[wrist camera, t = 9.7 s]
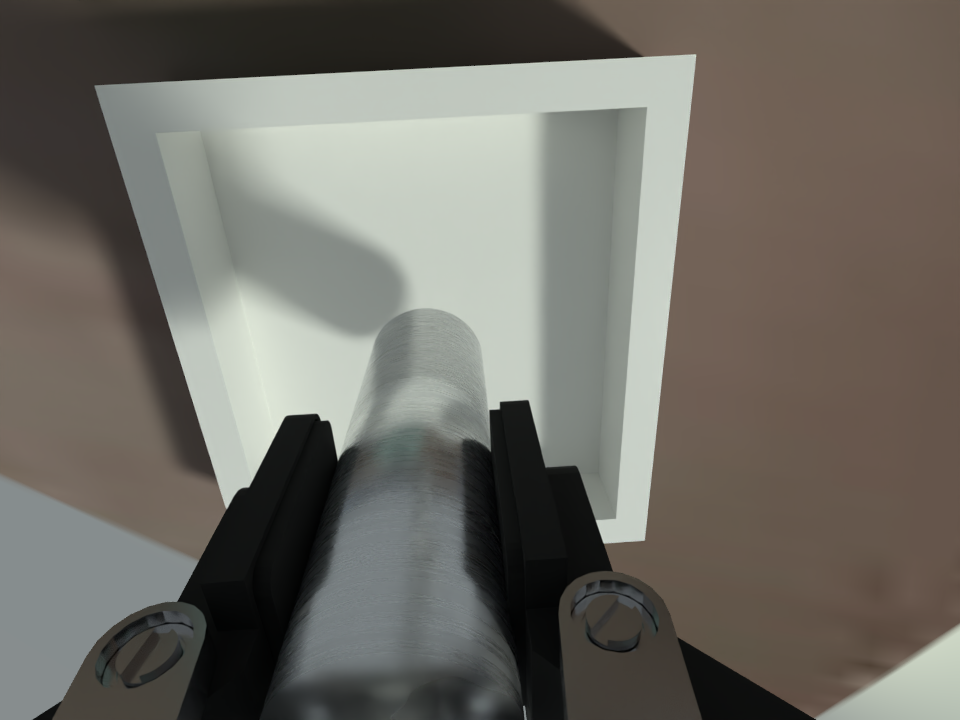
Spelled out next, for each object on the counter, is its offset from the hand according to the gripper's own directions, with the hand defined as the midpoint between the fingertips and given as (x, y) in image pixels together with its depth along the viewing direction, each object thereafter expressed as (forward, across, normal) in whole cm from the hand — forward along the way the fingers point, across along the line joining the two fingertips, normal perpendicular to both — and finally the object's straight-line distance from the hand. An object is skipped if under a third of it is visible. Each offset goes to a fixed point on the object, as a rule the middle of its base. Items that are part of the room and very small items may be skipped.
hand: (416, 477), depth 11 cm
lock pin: (+5, 0, 0) cm, 5 cm away
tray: (+8, 0, 0) cm, 8 cm away
